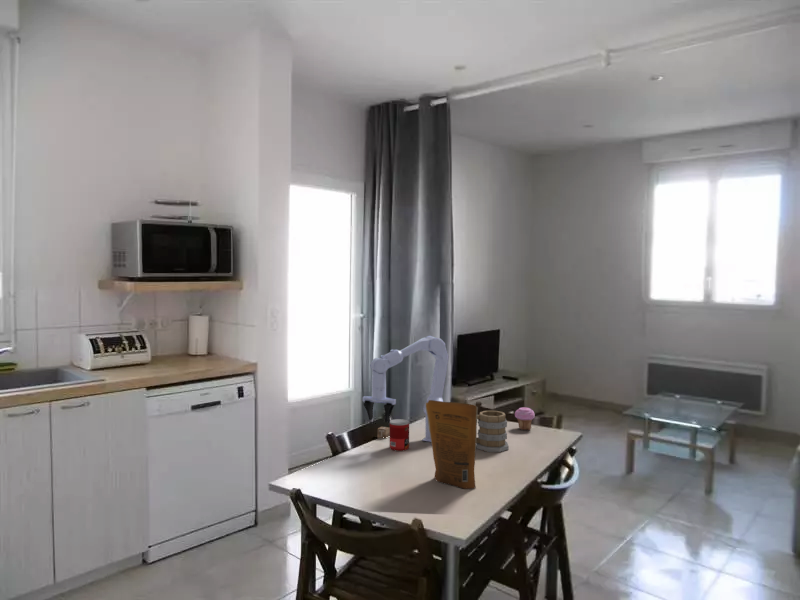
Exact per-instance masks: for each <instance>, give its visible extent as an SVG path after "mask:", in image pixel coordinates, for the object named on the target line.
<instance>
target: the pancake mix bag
mask: <svg viewBox="0 0 800 600" xmlns="http://www.w3.org/2000/svg"><path fill="white" fill-rule="evenodd" d="M425 404H426V412H427V417H428V425H429V431H430V438H431V442H430V443H431V449H432V456H433V461H434V467H435V472H434V479H435V481H436V480H437V481H436V482H438V483H441V484H444V483H445V484H444V485H448V486H449V485H450V486H453V487H456V488H460V489H463V490H473V489H477V486H476V481H475V479H476V477H475V476H476V475H475V467H476V466H475V465H476V449H477V446H476V438H477V437H478V434H477V433H478V429H477V425H478V419H477V415H478V409H479V407H478V406H477V405H474V404H470V403H465V402H464V403H463V402H454V401H443V402H442V401H434V400H429V402H428V403H426V402H425Z"/></svg>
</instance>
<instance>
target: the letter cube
mask: <svg viewBox="0 0 800 600" xmlns="http://www.w3.org/2000/svg"><path fill="white" fill-rule="evenodd" d="M376 434H377V439H383V437H384V438H386V437H388V436H390V426H389V427H387V426H380V427H378V428H377V432H376ZM388 438H389V437H388ZM386 439H387V438H386Z"/></svg>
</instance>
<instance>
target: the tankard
mask: <svg viewBox="0 0 800 600" xmlns="http://www.w3.org/2000/svg"><path fill="white" fill-rule="evenodd" d="M477 425H478V427H479V429H477V437H476V449H477V450H479V449H480V451H483V450H484V452H486V451H487V452H486V453H502V452H505V450H506V451H508V450H509V443H508V441H506V440H507V439H508V432H507V430H506V428H507V427H508V421H507V418H506V413H505V411H504V412H503V411H498V410H483V411H480V412H479V414H477ZM501 451H502V452H501Z"/></svg>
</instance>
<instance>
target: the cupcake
mask: <svg viewBox="0 0 800 600" xmlns="http://www.w3.org/2000/svg"><path fill="white" fill-rule="evenodd" d="M535 414H536V413H535V412H534V410H533V409H532V408H530V407H524V406H523V407H519V408H518V409H516V410H515V412H514V418H516V419H517V423H518V427H519V430H524V431H525V430H526V431H529V430H531V429H532V421H533V420H534V419H535V417H536V416H535Z"/></svg>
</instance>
